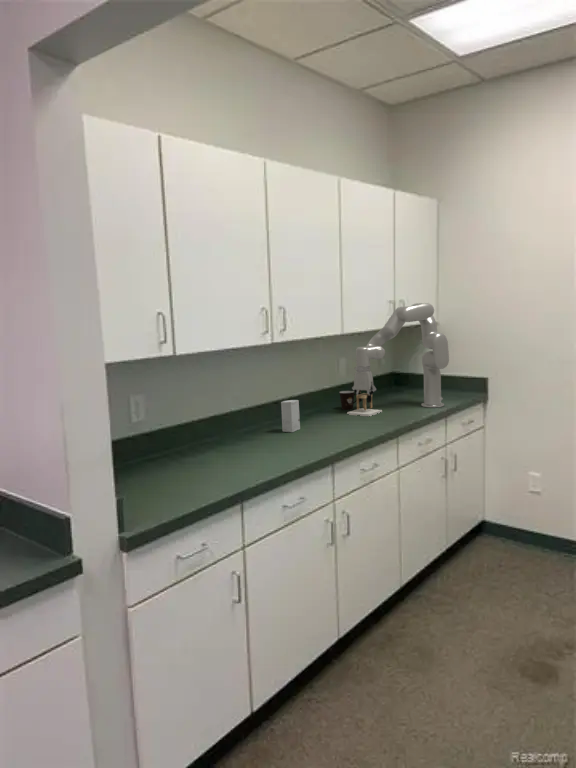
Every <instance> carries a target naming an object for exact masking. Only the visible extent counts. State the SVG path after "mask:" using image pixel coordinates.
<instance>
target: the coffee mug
mask: <svg viewBox="0 0 576 768" xmlns="http://www.w3.org/2000/svg"><path fill="white" fill-rule="evenodd" d="M355 395H357V394H356V393H355V391H354V390H341V391H339V398H340V405H341V410H342V409H343V411H351V410H350V409H352V410H353V409H354V404H355V403H357V399H356V400H354V399H355Z"/></svg>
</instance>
